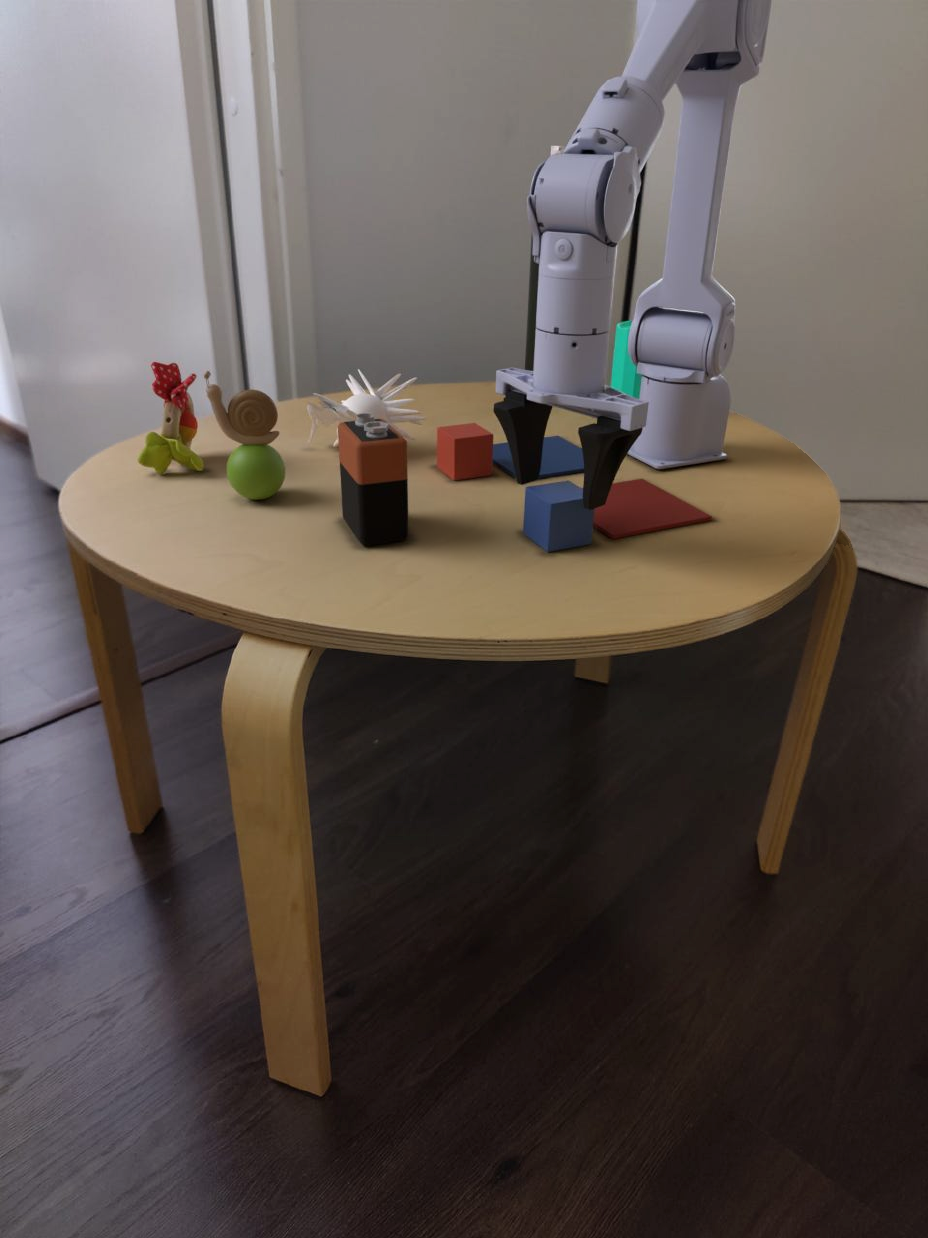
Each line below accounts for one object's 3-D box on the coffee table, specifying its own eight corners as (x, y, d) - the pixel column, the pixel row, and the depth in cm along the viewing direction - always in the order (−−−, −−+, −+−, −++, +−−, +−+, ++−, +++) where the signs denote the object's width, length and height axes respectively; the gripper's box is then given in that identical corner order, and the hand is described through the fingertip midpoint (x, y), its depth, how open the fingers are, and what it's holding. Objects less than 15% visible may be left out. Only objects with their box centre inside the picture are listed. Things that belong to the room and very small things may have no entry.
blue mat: (557, 438, 101) (558, 435, 101) (610, 467, 92) (610, 464, 92) (473, 450, 97) (473, 446, 97) (520, 481, 88) (520, 477, 88)
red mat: (641, 482, 89) (642, 478, 88) (711, 520, 80) (712, 516, 80) (549, 497, 84) (549, 493, 84) (612, 539, 76) (612, 534, 76)
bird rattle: (155, 478, 93) (132, 471, 84) (150, 373, 92) (126, 355, 83) (214, 477, 94) (197, 471, 85) (210, 373, 93) (192, 355, 84)
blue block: (565, 525, 78) (568, 479, 76) (591, 544, 75) (596, 496, 73) (522, 533, 77) (525, 486, 74) (547, 552, 73) (550, 504, 71)
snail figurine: (224, 488, 85) (208, 364, 79) (290, 487, 86) (279, 364, 80) (215, 508, 80) (197, 379, 75) (284, 507, 81) (272, 378, 75)
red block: (473, 462, 93) (474, 422, 91) (492, 475, 90) (493, 433, 88) (436, 467, 92) (436, 426, 89) (454, 480, 88) (454, 438, 86)
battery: (361, 548, 73) (356, 433, 68) (341, 519, 79) (335, 411, 74) (410, 541, 75) (408, 428, 70) (387, 513, 80) (384, 406, 75)
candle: (654, 415, 110) (666, 317, 105) (607, 411, 111) (616, 314, 106) (654, 403, 116) (666, 309, 110) (609, 399, 117) (619, 306, 111)
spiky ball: (293, 454, 98) (278, 380, 93) (382, 426, 104) (372, 355, 99) (342, 480, 90) (329, 402, 85) (435, 448, 96) (428, 373, 91)
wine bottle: (568, 393, 119) (586, 146, 105) (562, 403, 114) (581, 146, 100) (527, 389, 120) (540, 145, 106) (520, 400, 116) (532, 145, 101)
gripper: (471, 320, 69) (467, 481, 76) (613, 351, 60) (595, 530, 67) (531, 311, 73) (523, 464, 80) (673, 338, 64) (650, 508, 71)
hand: (560, 493), depth 74 cm, fingers open, 7 cm apart
